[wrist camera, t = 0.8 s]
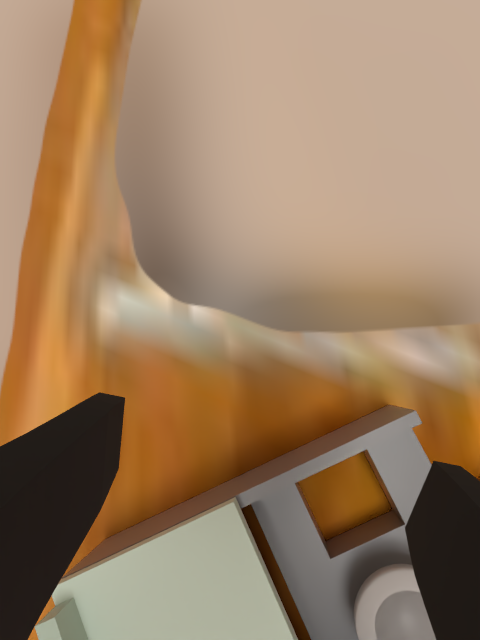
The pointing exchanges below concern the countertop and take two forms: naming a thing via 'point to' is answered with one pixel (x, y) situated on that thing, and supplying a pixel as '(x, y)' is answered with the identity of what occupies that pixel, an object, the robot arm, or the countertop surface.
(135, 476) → the countertop surface
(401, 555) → the housing
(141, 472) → the countertop surface
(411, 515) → the robot arm
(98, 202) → the countertop surface
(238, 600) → the lid
